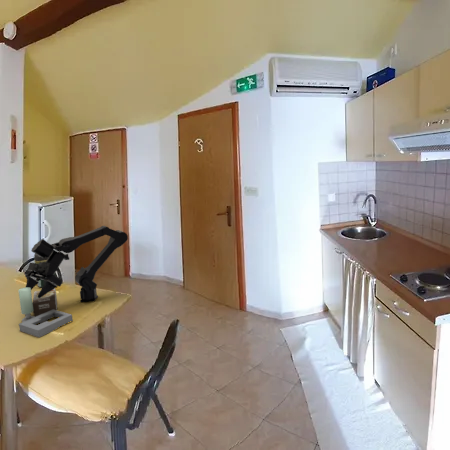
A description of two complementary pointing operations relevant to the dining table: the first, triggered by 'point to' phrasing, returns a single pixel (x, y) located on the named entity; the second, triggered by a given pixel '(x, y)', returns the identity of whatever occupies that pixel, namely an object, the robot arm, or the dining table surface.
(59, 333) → the dining table surface
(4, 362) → the dining table surface
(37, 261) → the coffee jar
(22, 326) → the keyhole plate
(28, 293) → the peg
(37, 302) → the coffee box
